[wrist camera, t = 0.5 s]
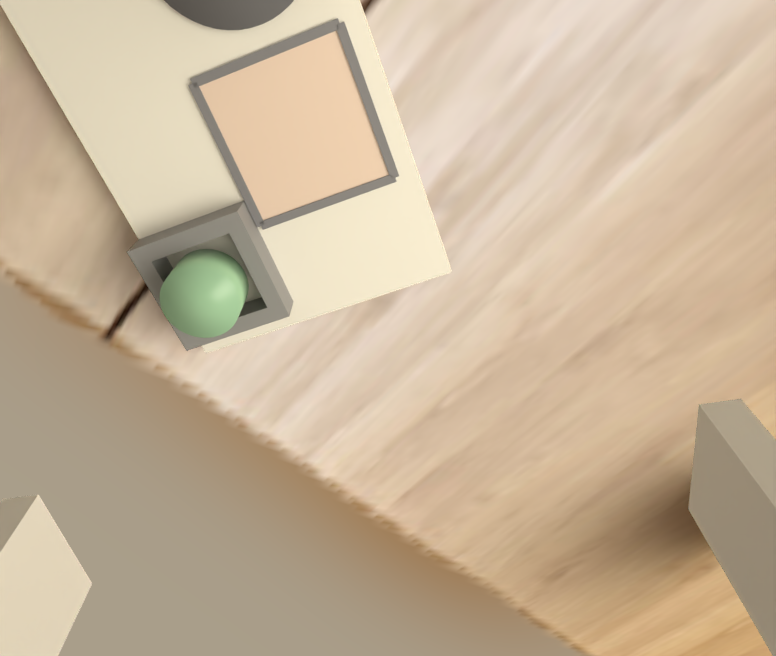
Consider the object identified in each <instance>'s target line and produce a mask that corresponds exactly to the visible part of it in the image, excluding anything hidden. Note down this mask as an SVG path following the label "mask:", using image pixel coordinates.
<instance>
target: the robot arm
mask: <svg viewBox="0 0 776 656" xmlns="http://www.w3.org/2000/svg"><path fill="white" fill-rule="evenodd" d="M688 510H689V511H690V513H691V515H692V517H693V518H694V520H695V522H696V524H697V525H698V527H699V529H700V530H701V532H702V534H703V536H704V537H705V539H706V541H707V543H708V544H709V546H710V548H711V549H712V551H713V553H714V555H715V556H716V558H717V560H718V562H719V563H720V565H721V567H722V569H723V570H724V572H725V574H726V575H727V577H728V579H729V581H730V582H731V584H732V586H733V588H734V589H735V591H736V593H737V595H738V596H739V598H740V600H741V601H742V603H743V605H744V607H745V608H746V610H747V612H748V614H749V615H750V617H751V619H752V621H753V622H754V624H755V626H756V627H757V629H758V631H759V633H760V634H761V636H762V638H763V640H764V641H765V643H766V645H767V646H768V648H769V650H770V652H771V653H772V655H773V656H776V440H775V439H774V437H773V436H772V435H771V434H770V433H769V432H768V430H767V429H766V428H765V427H764V426H763V424H762V423H761V422H760V421H759V420H758V419H757V417H756V416H755V415H754V414H753V413H752V412H751V410H750V409H749V408H748V407H747V406H746V404H745V403H744V402H743V401H742V400H741V399H737V400H729V401H722V402H715V403H707V404H700V405H699V409H698V419H697V429H696V439H695V448H694V458H693V468H692V478H691V488H690V497H689V507H688ZM91 585H92V583H91V581H90V579H89V578H88V576H87V574H86V573H85V571H84V569H83V568H82V566H81V565H80V563H79V561H78V559H77V558H76V556H75V555H74V553H73V551H72V549H71V548H70V546H69V545H68V543H67V541H66V539H65V538H64V536H63V535H62V533H61V532H60V530H59V528H58V526H57V525H56V523H55V521H54V520H53V518H52V516H51V515H50V513H49V511H48V510H47V508H46V506H45V505H44V503H43V501H42V500H41V498H40V496H39V495H31V496H24V497H16V498H10V499H3V500H2V501H1V502H0V656H58V655H59V653H60V650H61V648H62V646H63V644H64V642H65V640H66V638H67V635H68V634H69V631H70V629H71V627H72V625H73V623H74V621H75V618H76V616H77V614H78V612H79V610H80V608H81V606H82V604H83V602H84V599H85V597H86V595H87V593H88V591H89V589H90V587H91Z"/></svg>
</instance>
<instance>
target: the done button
mask: <svg viewBox="0 0 776 656" xmlns="http://www.w3.org/2000/svg"><path fill="white" fill-rule="evenodd" d="M248 291H249V284H248V279H247V276H246V273H245V271H244V270H243V268H242V267H241V265H240V264H239V263H238V262H237V261H236V260H235V259H234V258H232V257H231V256H229V255H228V254H226V253H224V252H221V251H218V250H214V249H199V250H195V251H192V252H190V253H188V254H186V255H185V256H184V257H183V258H181V260H180V261H179V262H178V263H177V265H176V266H175V267H174V269H173V270H172V271H171V273H170V274H169V275H168V277H167V278H166V280H165V281H164V283H163V284H162V287H161V290H160V305H161V308H162V311H163V313H164V315H165V316H166V318H167V319H168V321H169V322H170V323H171V324H172V325H173V326H174V327H176V328H177V329H178V330H180V331H182V332H183V333H186V334H188V335H191V336H194V337H200V338H211V337H216V336H219V335H222V334H224V333H225V332H227V331H228V330H230V329H231V328H232V327H233V326H234V324H235V323H236V321H237V319H238V317H239V314H240V312H241V310H242V308H243V305H244V303H245V301H246V298H247V295H248Z"/></svg>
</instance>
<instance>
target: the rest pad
mask: <svg viewBox="0 0 776 656" xmlns="http://www.w3.org/2000/svg"><path fill="white" fill-rule="evenodd" d="M164 1H165V2H166V3H167V4H168V5H169V6H170V7H172V8H173V9H174V10H176V11H177V12H179V13H180V14H181V15H183V16H185V17H186V18H188V19H190V20H192V21H194V22H196V23H199V24H201V25H204V26H207V27H211V28H215V29H221V30H243V29H248V28H253V27H256V26H259V25H262V24H264V23H266V22H268V21H270V20H272V19H274V18H275V17H276V16H278V15H279V14H281V13H282V12H283V11H284V10H285V9H286V8H287V7H288V6H289V5H291V3H292V2H293V1H294V0H164Z"/></svg>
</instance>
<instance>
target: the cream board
mask: <svg viewBox="0 0 776 656" xmlns="http://www.w3.org/2000/svg"><path fill="white" fill-rule="evenodd" d="M0 5H1V7H2V8H3V10H4V12H5V14H6V15H7V17H8V19H9V20H10V22H11V24H12V25H13V27H14V29H15V30H16V32H17V34H18V36H19V37H20V39H21V41H22V42H23V44H24V46H25V47H26V49H27V51H28V53H29V54H30V56H31V58H32V59H33V61H34V63H35V64H36V66H37V68H38V69H39V71H40V73H41V75H42V76H43V78H44V80H45V81H46V83H47V85H48V86H49V88H50V90H51V92H52V93H53V95H54V97H55V98H56V100H57V102H58V103H59V105H60V107H61V108H62V110H63V112H64V114H65V115H66V117H67V119H68V120H69V122H70V124H71V125H72V127H73V129H74V131H75V132H76V134H77V136H78V137H79V139H80V141H81V142H82V144H83V146H84V148H85V149H86V151H87V153H88V154H89V156H90V158H91V159H92V161H93V163H94V164H95V166H96V168H97V170H98V171H99V173H100V175H101V176H102V178H103V180H104V181H105V183H106V185H107V187H108V188H109V190H110V192H111V193H112V195H113V197H114V198H115V200H116V202H117V203H118V205H119V207H120V209H121V210H122V212H123V214H124V215H125V217H126V219H127V220H128V222H129V224H130V226H131V227H132V229H133V231H134V232H135V234H136V236H137V237H138V239H139V240H138V241H137V242H136V243H135V244H134V245H133V246H132V247H131V248H130V249H129V250H128V251H127V253H128V255H129V257H130V258H131V260H132V262H133V263H134V265H135V267H136V268H137V270H138V271H139V273H140V275H141V276H142V278H143V280H144V281H145V283H146V285H147V286H148V288H149V290H150V291H151V293H152V295H153V296H154V298H155V300H156V301H157V303H158V304H159V306H160V308H161V305H160V290H161V287H162V284H163V283H164V281H165V280H166V278H167V277H168V275H169V274H170V273H171V271H172V270H173V269H174V267H175V266H176V265H177V263H178V262H179V261H180V260H181V258H183V257H184V256H185V255H186V254H188V253H190V252H192V251H195V250H199V249H214V250H218V251H221V252H224V253H226V254H228V255H229V256H231V257H232V258H234V259H235V260H236V261H237V262H238V263H239V264H240V265H241V267H242V268H243V270H244V271H245V273H246V276H247V279H248V284H249V291H248V295H247V298H246V301H245V303H244V305H243V308H242V310H241V312H240V314H239V317H238V319H237V321H236V323H235V324H234V326H233V327H232V328H231V329H230V330H228V331H227V332H225V333H224V334H222V335H219V336H216V337H211V338H200V337H194V336H191V335H188V334H186V333H183V332H182V331H180V330H178V329H177V328H176V327H174V326H173V325H172V324H171V323H170V322H169V323H170V324H171V326H172V328H173V329H174V331H175V333H176V334H177V336H178V338H179V339H180V341H181V342H182V344H183V346H184V347H185V349H186V351H187V350H190V349H193V348H196V347H199V346H202V348H203V349H204V351H205V353H209V352H212V351H215V350H218V349H221V348H224V347H227V346H230V345H233V344H236V343H239V342H242V341H245V340H248V339H251V338H254V337H257V336H260V335H263V334H267V333H270V332H273V331H276V330H279V329H282V328H285V327H288V326H291V325H294V324H297V323H300V322H303V321H306V320H309V319H312V318H315V317H318V316H321V315H324V314H327V313H330V312H333V311H336V310H339V309H342V308H345V307H348V306H351V305H354V304H357V303H360V302H363V301H366V300H369V299H372V298H375V297H378V296H381V295H384V294H387V293H390V292H393V291H396V290H400V289H403V288H406V287H409V286H412V285H415V284H418V283H421V282H424V281H427V280H430V279H433V278H436V277H439V276H442V275H445V274H448V273H451V272H452V271H451V267H450V264H449V261H448V258H447V255H446V252H445V249H444V246H443V243H442V240H441V237H440V234H439V231H438V228H437V225H436V222H435V219H434V216H433V214H432V211H431V208H430V205H429V202H428V199H427V196H426V193H425V190H424V187H423V184H422V181H421V178H420V175H419V172H418V169H417V166H416V164H415V161H414V158H413V155H412V152H411V149H410V146H409V143H408V140H407V137H406V134H405V131H404V128H403V125H402V122H401V119H400V116H399V114H398V111H397V108H396V105H395V102H394V99H393V96H392V93H391V90H390V87H389V84H388V81H387V78H386V75H385V72H384V69H383V66H382V64H381V61H380V58H379V55H378V52H377V49H376V46H375V43H374V40H373V37H372V34H371V31H370V28H369V25H368V22H367V19H366V16H365V14H364V11H363V8H362V5H361V2H360V0H294V1H293V2H292V3H291V5H289V6H288V7H287V8H286V9H285V10H284V11H283V12H282V13H281V14H279V15H278V16H276V17H275V18H274V19H272V20H270V21H268V22H266V23H264V24H262V25H259V26H256V27H253V28H248V29H243V30H221V29H215V28H211V27H207V26H204V25H201V24H199V23H196V22H194V21H192V20H190V19H188V18H186V17H185V16H183V15H181V14H180V13H179V12H177V11H176V10H174V9H173V8H172V7H170V6H169V5H168V4H167V3H166V2H165V1H164V0H0ZM161 309H162V308H161Z"/></svg>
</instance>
